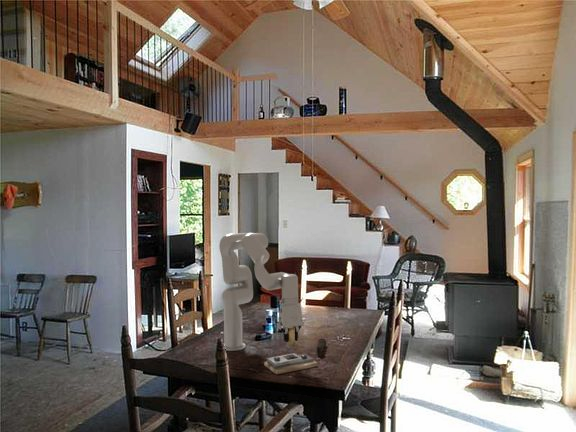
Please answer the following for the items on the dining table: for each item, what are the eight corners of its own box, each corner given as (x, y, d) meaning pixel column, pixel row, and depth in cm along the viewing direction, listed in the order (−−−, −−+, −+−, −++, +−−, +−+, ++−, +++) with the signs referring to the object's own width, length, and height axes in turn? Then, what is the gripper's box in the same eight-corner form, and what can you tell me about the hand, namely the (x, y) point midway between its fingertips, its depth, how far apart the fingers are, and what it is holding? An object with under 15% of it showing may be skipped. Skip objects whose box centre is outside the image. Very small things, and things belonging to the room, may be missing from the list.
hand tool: (318, 345, 227) (318, 336, 227) (326, 345, 226) (325, 337, 226) (312, 357, 208) (312, 348, 208) (320, 358, 207) (320, 348, 207)
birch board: (264, 365, 197) (264, 361, 197) (303, 357, 207) (303, 354, 207) (276, 374, 186) (276, 371, 186) (317, 366, 196) (317, 362, 196)
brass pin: (285, 344, 197) (284, 327, 197) (292, 343, 199) (292, 326, 199) (289, 346, 194) (288, 329, 194) (296, 345, 195) (296, 328, 195)
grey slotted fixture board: (267, 363, 195) (267, 356, 195) (305, 356, 205) (305, 349, 205) (274, 368, 188) (274, 361, 188) (313, 361, 198) (313, 354, 198)
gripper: (277, 304, 189) (278, 346, 189) (309, 300, 197) (310, 340, 197) (270, 301, 196) (270, 341, 196) (302, 298, 203) (302, 336, 203)
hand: (290, 340), depth 196 cm, fingers closed on brass pin, 4 cm apart
